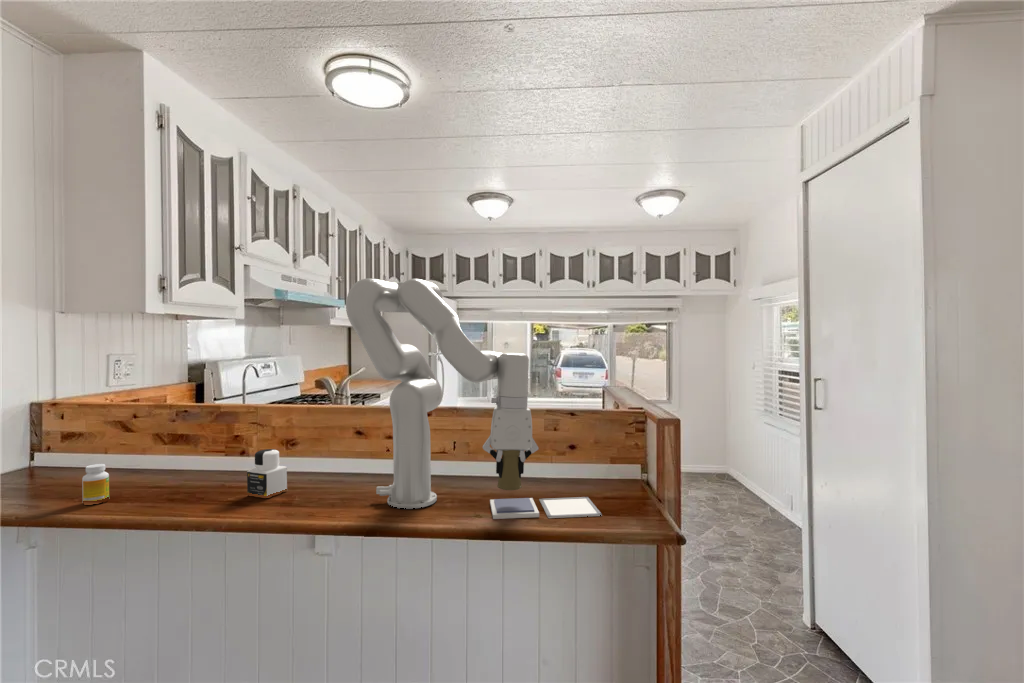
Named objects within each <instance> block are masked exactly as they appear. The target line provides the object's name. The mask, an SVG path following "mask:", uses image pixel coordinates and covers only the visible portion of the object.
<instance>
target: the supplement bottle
mask: <svg viewBox="0 0 1024 683" xmlns="http://www.w3.org/2000/svg"><path fill="white" fill-rule="evenodd" d="M105 470H106V464H105V463H95V464H89V465H87V466H85V473H86V474H85V475H83V476H82V481H81V482H82V483H81V484H82V485H81V486H82V488H81V490H82V493H81V494H82V502H83V501H97V500H102V499H105V498H107V497H109V498H110V474H109V473H108V472H107V471H105Z"/></svg>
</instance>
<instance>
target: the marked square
mask: <svg viewBox="0 0 1024 683" xmlns="http://www.w3.org/2000/svg"><path fill="white" fill-rule="evenodd" d="M538 500H539V502H540V504H541V506H542V508H543V510H544V512H545V514H546V517H547V519H555V518H556V519H559V518H560V519H563V518H564V519H565V518H581V517H582V518H584V517H586V518H587V516H588V517H602V516H603V514H602V512H601V511H600V510H599V509H598V508H597V506H596V505H595V503H593V501H592V500H591V499H590V498H589V496H581V497H580V496H578V497H577V496H576V497H573V496H572V497H555V498H554V497H552V498H539V499H538ZM600 515H601V516H600Z"/></svg>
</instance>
